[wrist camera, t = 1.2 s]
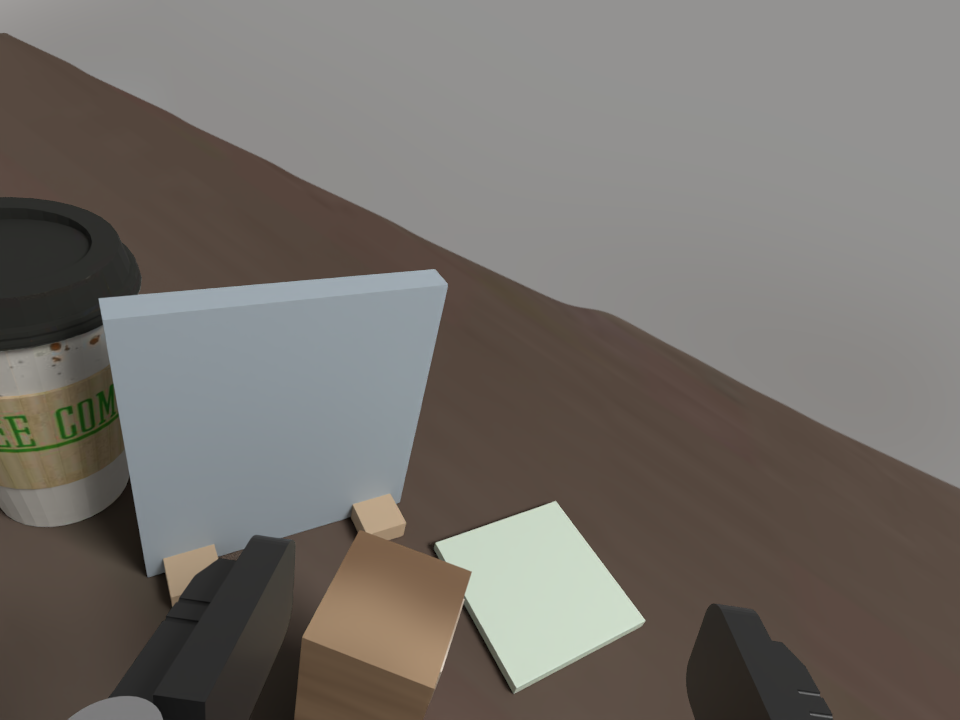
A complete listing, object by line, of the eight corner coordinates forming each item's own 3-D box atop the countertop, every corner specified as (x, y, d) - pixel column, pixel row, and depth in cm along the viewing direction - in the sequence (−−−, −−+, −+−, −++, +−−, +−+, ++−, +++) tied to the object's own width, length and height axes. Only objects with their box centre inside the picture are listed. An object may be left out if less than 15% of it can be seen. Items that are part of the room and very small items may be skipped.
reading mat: (513, 693, 31) (516, 688, 30) (433, 548, 36) (435, 542, 36) (641, 626, 35) (645, 620, 35) (553, 506, 41) (555, 501, 40)
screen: (154, 617, 30) (110, 360, 20) (137, 520, 33) (92, 265, 24) (415, 531, 37) (471, 312, 27) (376, 460, 41) (414, 245, 31)
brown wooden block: (389, 810, 26) (436, 689, 19) (289, 769, 26) (302, 637, 20) (424, 704, 29) (473, 572, 23) (335, 669, 30) (359, 529, 23)
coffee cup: (-6, 594, 29) (-119, 341, 20) (-74, 466, 33) (-192, 211, 24) (197, 494, 36) (179, 271, 27) (118, 398, 40) (80, 178, 31)
